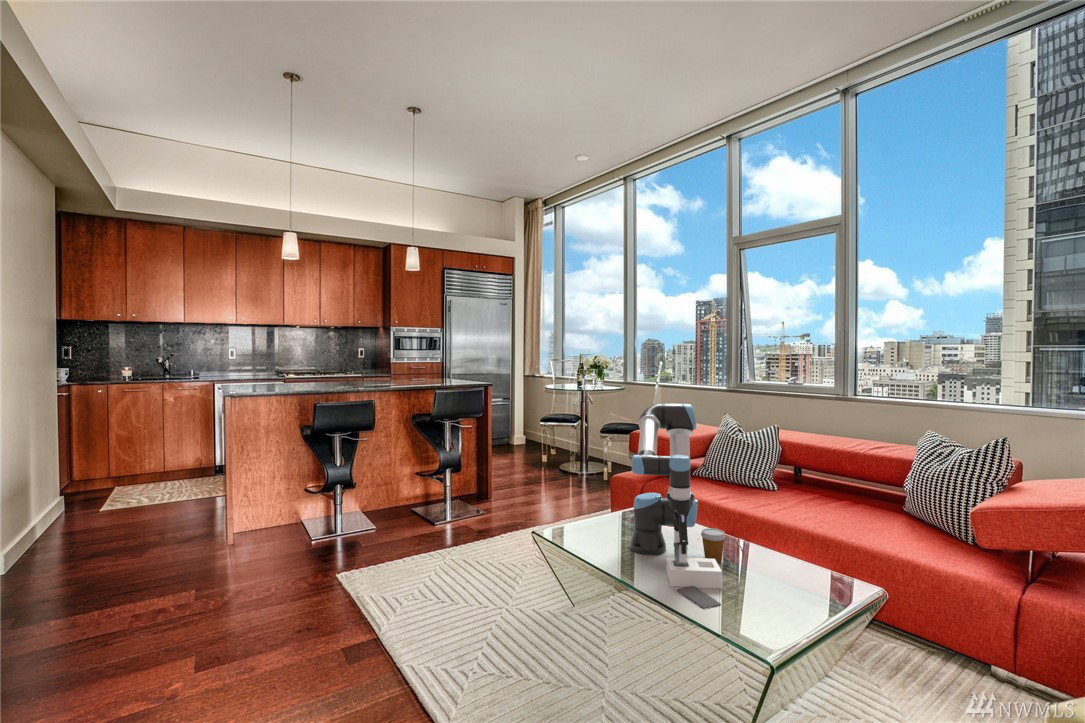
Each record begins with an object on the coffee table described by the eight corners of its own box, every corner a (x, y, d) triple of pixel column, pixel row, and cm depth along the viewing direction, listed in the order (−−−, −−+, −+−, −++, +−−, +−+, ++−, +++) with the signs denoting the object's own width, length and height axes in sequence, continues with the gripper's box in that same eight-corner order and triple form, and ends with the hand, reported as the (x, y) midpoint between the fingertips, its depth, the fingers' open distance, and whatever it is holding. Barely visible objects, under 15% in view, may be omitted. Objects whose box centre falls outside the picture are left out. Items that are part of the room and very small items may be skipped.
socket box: (666, 572, 199) (666, 556, 199) (714, 574, 197) (714, 558, 197) (670, 586, 187) (670, 569, 187) (722, 588, 185) (721, 571, 185)
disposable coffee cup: (727, 566, 204) (727, 536, 204) (702, 565, 206) (702, 535, 206) (724, 557, 213) (723, 528, 213) (699, 556, 215) (699, 527, 215)
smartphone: (703, 608, 170) (675, 588, 184) (703, 611, 170) (675, 591, 184) (722, 604, 173) (693, 585, 186) (722, 606, 173) (693, 587, 186)
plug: (673, 574, 195) (673, 542, 195) (685, 574, 194) (685, 542, 194) (675, 579, 191) (675, 546, 191) (687, 579, 190) (687, 547, 190)
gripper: (665, 489, 205) (666, 542, 205) (674, 507, 181) (674, 568, 181) (685, 489, 204) (685, 543, 204) (696, 507, 180) (696, 568, 180)
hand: (680, 555), depth 192 cm, fingers open, 13 cm apart
